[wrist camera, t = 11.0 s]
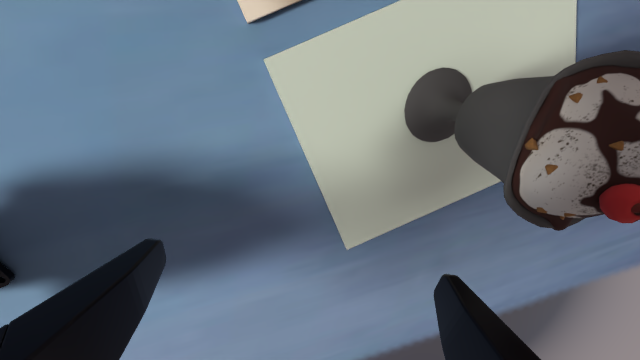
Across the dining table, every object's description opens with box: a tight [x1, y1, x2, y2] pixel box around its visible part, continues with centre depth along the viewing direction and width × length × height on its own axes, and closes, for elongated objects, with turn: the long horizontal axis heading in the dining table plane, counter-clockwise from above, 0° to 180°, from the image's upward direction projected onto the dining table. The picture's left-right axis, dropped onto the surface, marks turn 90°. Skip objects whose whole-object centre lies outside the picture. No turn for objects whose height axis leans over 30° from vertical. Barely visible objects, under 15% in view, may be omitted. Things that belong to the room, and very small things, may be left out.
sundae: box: [404, 50, 640, 231], centre depth 13 cm, size 7×7×15 cm
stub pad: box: [264, 0, 577, 250], centre depth 20 cm, size 20×15×1 cm
